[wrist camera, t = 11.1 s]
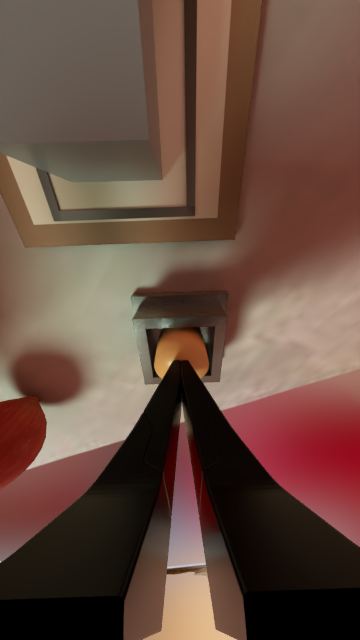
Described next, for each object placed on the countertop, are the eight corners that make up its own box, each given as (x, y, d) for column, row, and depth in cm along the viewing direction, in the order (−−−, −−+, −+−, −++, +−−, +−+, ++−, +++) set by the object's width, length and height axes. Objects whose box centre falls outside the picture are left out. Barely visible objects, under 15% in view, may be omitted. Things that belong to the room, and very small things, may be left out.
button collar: (145, 363, 14) (139, 389, 11) (132, 294, 11) (121, 311, 9) (218, 361, 14) (226, 386, 11) (226, 290, 11) (238, 307, 8)
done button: (160, 357, 12) (157, 385, 10) (156, 321, 11) (151, 345, 8) (202, 356, 12) (207, 383, 10) (203, 320, 11) (210, 343, 8)
